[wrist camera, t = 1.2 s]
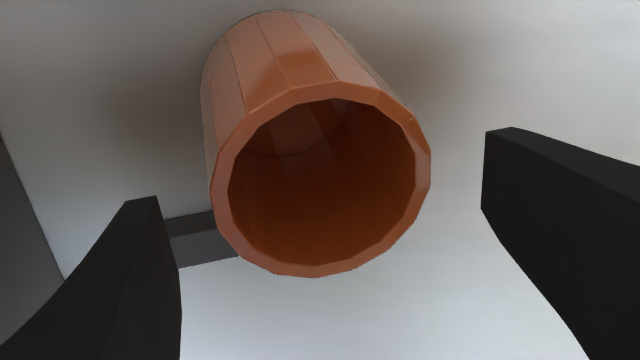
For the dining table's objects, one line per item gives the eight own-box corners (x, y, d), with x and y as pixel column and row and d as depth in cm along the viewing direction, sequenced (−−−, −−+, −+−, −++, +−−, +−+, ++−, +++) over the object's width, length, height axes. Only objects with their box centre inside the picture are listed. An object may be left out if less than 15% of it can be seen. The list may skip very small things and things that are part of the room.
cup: (361, 144, 20) (430, 253, 15) (217, 171, 19) (233, 297, 14) (352, -3, 17) (432, 64, 12) (184, 23, 17) (188, 105, 11)
